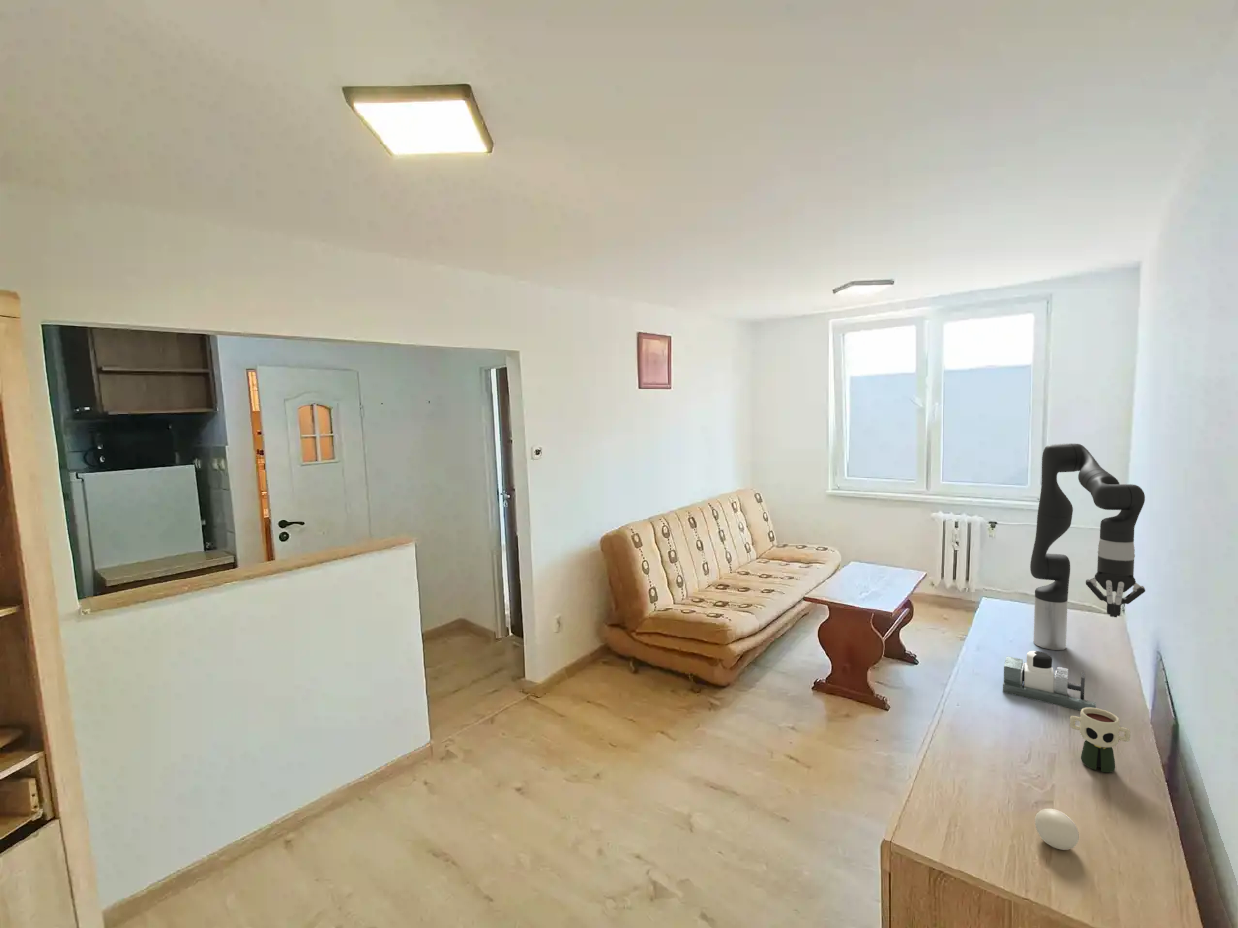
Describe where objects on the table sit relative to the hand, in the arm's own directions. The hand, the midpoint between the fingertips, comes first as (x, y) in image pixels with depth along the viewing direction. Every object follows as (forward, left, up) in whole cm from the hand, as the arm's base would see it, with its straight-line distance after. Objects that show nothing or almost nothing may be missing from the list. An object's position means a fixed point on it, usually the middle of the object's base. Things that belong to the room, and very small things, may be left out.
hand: (1113, 616), depth 156 cm
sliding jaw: (0, -9, -27) cm, 28 cm away
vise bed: (+1, -14, -27) cm, 30 cm away
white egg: (+69, -10, -27) cm, 75 cm away
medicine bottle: (0, -16, -27) cm, 32 cm away
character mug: (+34, -3, -27) cm, 44 cm away
